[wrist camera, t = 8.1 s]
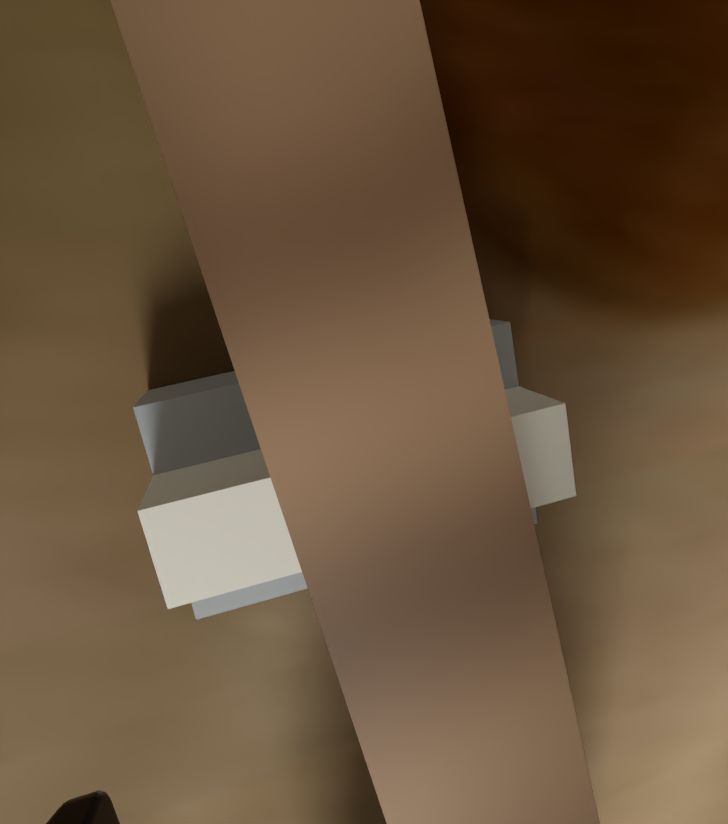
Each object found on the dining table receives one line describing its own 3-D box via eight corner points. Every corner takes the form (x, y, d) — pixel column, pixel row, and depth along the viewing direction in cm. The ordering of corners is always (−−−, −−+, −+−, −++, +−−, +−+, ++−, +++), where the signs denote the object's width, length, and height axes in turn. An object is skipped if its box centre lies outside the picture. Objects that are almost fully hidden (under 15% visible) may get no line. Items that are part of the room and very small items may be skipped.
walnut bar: (519, 779, 16) (634, 982, 12) (398, 829, 16) (466, 1062, 11) (336, 65, 12) (401, -81, 7) (160, 108, 11) (104, -17, 7)
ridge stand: (502, 495, 20) (583, 561, 15) (201, 576, 19) (189, 677, 14) (475, 316, 19) (556, 328, 14) (147, 390, 17) (112, 430, 13)
